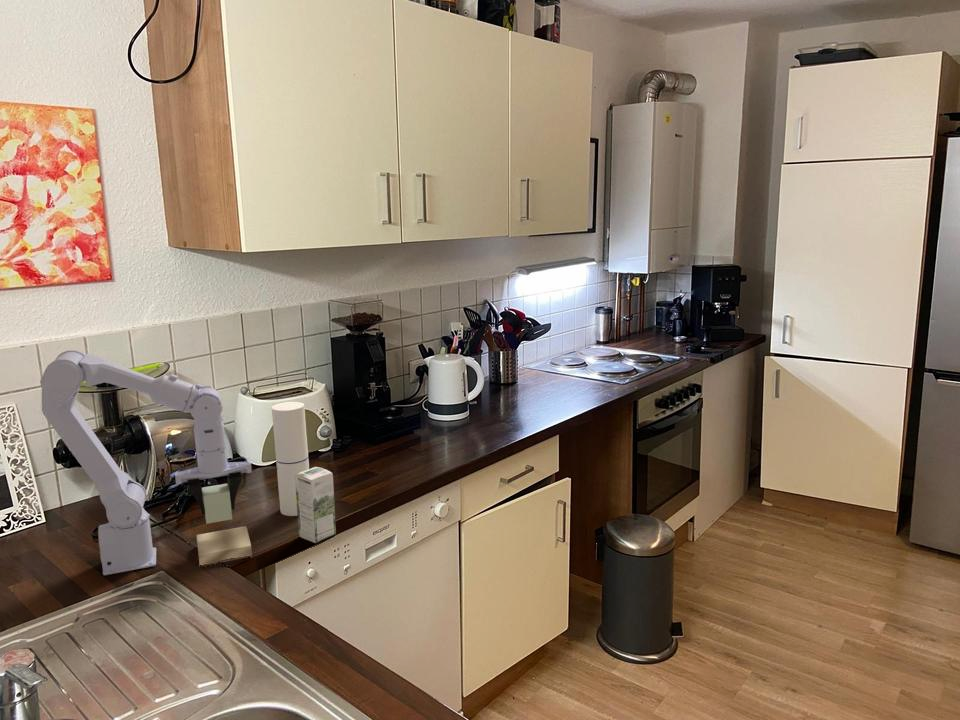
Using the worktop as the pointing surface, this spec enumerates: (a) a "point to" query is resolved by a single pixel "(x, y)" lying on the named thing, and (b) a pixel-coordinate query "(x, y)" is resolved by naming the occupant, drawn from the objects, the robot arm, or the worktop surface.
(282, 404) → the cylindrical container
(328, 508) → the syrup box
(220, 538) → the birch base
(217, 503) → the sage block
